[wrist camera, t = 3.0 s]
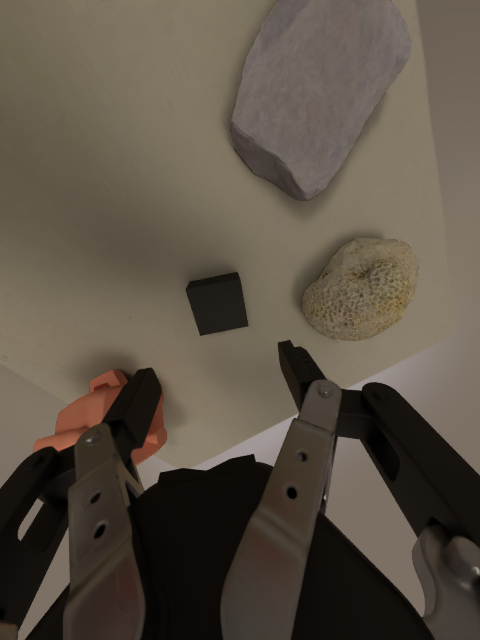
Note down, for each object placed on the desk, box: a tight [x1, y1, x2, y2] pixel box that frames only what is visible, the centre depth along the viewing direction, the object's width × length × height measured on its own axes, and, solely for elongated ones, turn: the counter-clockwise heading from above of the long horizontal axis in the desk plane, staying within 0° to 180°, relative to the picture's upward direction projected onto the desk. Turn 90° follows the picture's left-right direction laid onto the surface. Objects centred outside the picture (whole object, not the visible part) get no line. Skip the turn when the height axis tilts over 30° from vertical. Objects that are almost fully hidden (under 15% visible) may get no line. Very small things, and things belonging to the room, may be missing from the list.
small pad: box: [186, 272, 248, 336], centre depth 22 cm, size 6×6×3 cm
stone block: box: [230, 0, 412, 201], centre depth 15 cm, size 12×5×10 cm
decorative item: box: [302, 238, 419, 341], centre depth 21 cm, size 12×9×10 cm
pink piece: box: [33, 370, 167, 466], centre depth 23 cm, size 12×12×10 cm
